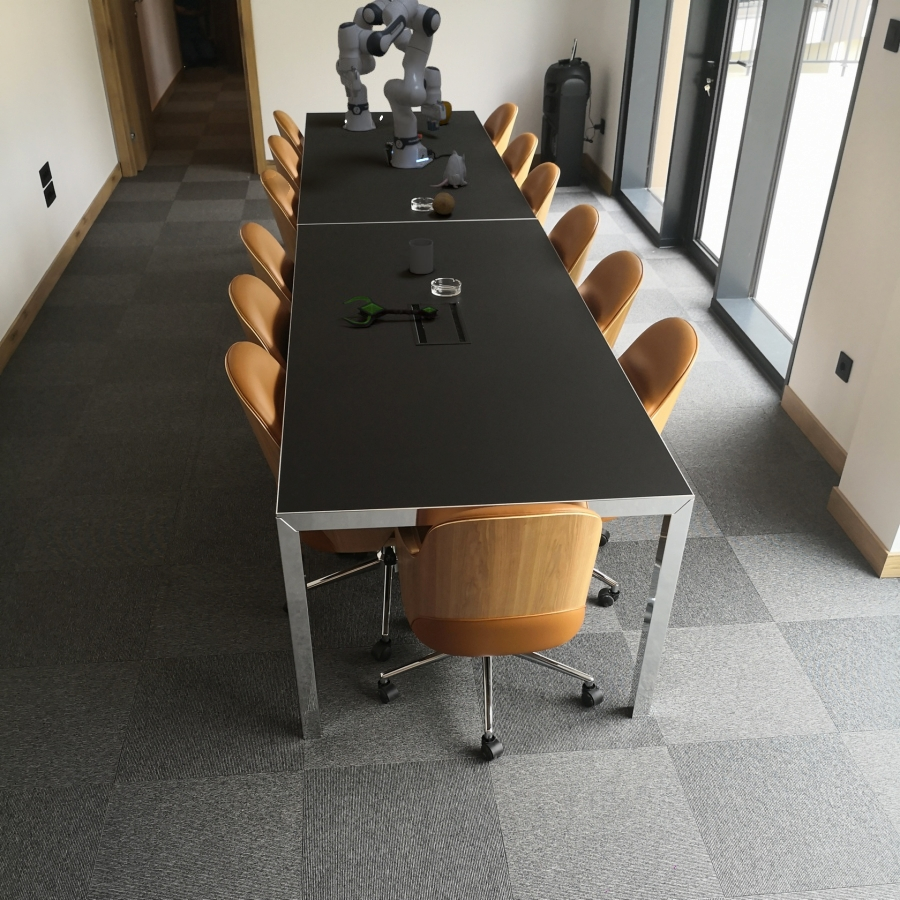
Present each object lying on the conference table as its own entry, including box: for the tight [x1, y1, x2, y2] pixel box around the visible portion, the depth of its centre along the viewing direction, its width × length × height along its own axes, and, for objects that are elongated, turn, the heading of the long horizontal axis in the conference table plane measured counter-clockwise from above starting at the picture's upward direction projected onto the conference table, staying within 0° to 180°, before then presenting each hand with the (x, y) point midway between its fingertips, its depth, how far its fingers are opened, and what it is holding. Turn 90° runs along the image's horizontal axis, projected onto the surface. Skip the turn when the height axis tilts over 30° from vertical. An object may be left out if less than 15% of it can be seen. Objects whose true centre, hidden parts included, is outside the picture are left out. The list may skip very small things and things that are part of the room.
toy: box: [428, 149, 468, 189], centre depth 390 cm, size 9×24×15 cm, turn 137°
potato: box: [431, 192, 456, 216], centre depth 360 cm, size 10×14×8 cm
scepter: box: [341, 295, 439, 328], centre depth 271 cm, size 6×13×30 cm
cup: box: [408, 237, 434, 275], centre depth 305 cm, size 8×8×10 cm
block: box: [427, 119, 440, 132], centre depth 474 cm, size 5×4×5 cm
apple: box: [439, 100, 453, 126], centre depth 501 cm, size 11×11×13 cm
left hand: (433, 126), depth 474 cm, fingers closed on block, 4 cm apart
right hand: (351, 99), depth 378 cm, fingers open, 8 cm apart
